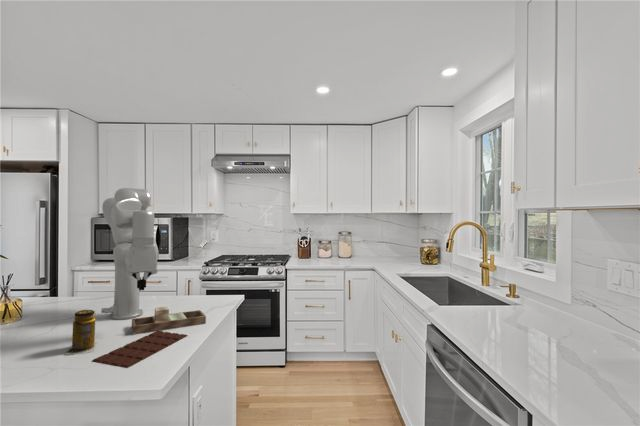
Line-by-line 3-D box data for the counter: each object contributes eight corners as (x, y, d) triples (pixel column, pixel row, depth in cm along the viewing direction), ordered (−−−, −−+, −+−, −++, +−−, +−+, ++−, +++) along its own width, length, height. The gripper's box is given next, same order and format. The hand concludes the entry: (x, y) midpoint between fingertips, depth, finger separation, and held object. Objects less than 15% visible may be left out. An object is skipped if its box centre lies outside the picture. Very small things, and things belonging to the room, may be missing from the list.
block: (155, 321, 127) (156, 310, 127) (154, 317, 131) (154, 307, 131) (168, 319, 129) (168, 309, 129) (166, 316, 133) (167, 306, 133)
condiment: (97, 342, 113) (98, 307, 113) (93, 352, 105) (94, 314, 105) (71, 345, 109) (72, 309, 109) (65, 355, 102) (66, 317, 102)
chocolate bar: (157, 332, 124) (157, 330, 124) (187, 337, 121) (187, 334, 121) (91, 362, 98) (91, 359, 98) (127, 369, 95) (127, 366, 95)
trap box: (133, 334, 120) (133, 326, 120) (131, 326, 129) (131, 318, 129) (205, 323, 135) (205, 316, 135) (199, 316, 143) (200, 310, 143)
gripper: (120, 243, 119) (119, 294, 119) (165, 242, 127) (164, 289, 127) (119, 242, 125) (118, 290, 125) (162, 241, 133) (161, 286, 133)
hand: (141, 289), depth 126 cm, fingers closed
